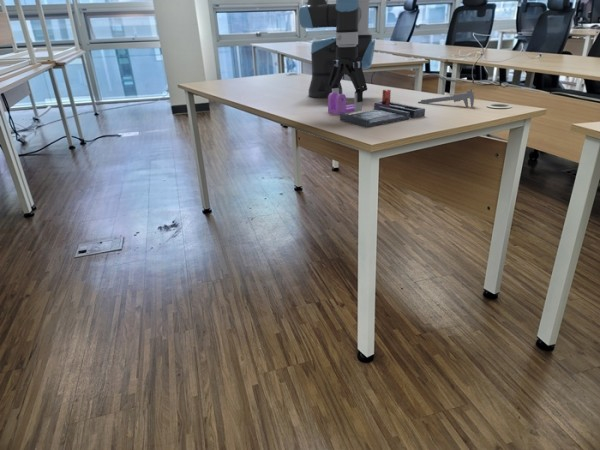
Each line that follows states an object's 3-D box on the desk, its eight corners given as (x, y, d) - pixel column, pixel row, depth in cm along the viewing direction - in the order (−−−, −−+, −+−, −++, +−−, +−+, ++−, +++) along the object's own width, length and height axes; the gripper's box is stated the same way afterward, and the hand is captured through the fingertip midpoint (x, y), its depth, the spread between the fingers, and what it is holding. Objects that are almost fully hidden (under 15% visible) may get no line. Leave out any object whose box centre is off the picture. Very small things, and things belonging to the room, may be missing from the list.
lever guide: (374, 109, 155) (374, 102, 154) (384, 107, 157) (384, 100, 156) (413, 118, 140) (414, 110, 139) (424, 115, 142) (425, 108, 141)
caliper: (473, 107, 153) (475, 89, 150) (472, 107, 152) (474, 89, 150) (418, 103, 164) (419, 86, 161) (417, 103, 163) (418, 86, 160)
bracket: (338, 115, 150) (338, 94, 147) (328, 112, 154) (327, 93, 151) (364, 109, 157) (364, 90, 153) (353, 107, 161) (354, 88, 158)
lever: (380, 107, 154) (380, 90, 151) (386, 106, 155) (386, 89, 152) (399, 111, 146) (400, 93, 143) (405, 110, 147) (406, 92, 145)
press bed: (339, 120, 142) (339, 113, 141) (380, 112, 150) (381, 106, 149) (366, 127, 131) (366, 120, 130) (409, 118, 139) (409, 112, 138)
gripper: (317, 45, 153) (319, 105, 162) (361, 47, 134) (359, 115, 143) (334, 44, 157) (334, 103, 166) (379, 46, 137) (376, 112, 146)
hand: (346, 108), depth 154 cm, fingers open, 13 cm apart
